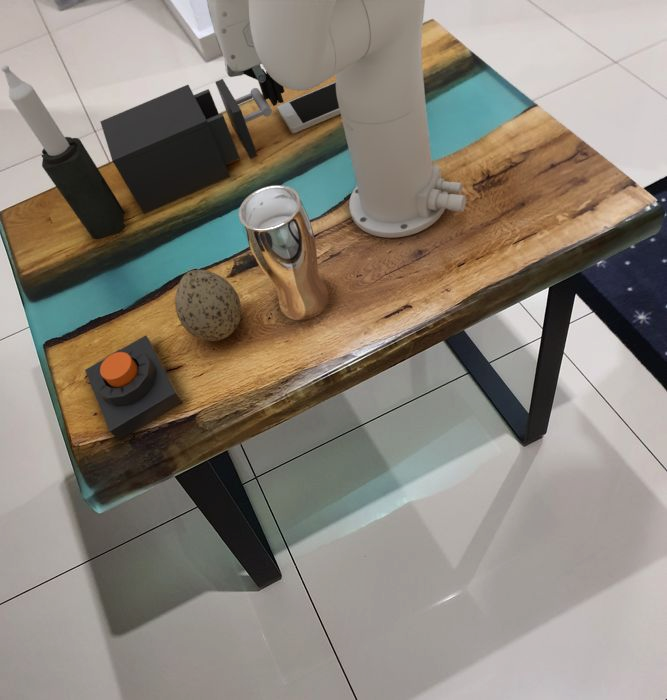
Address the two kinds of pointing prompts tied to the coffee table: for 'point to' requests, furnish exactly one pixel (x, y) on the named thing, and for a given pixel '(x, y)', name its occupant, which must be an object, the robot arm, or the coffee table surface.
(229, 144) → the fryer drawer
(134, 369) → the button
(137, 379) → the block
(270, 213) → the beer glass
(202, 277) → the decorative egg
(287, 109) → the smartphone
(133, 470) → the coffee table surface
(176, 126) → the fryer
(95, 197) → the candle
